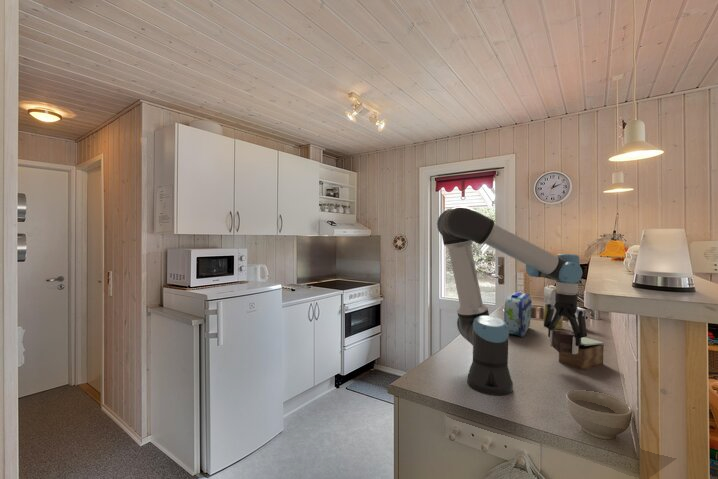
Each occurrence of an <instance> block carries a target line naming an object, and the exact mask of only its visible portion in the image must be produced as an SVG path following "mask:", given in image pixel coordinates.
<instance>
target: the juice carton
mask: <svg viewBox="0 0 718 479" xmlns="http://www.w3.org/2000/svg"><path fill="white" fill-rule="evenodd" d="M556 292H557V291H556V286H554V285H548V286H544V290H543V323H544V322H545V318H546V314H547V310H548V308H547V305H548V304H555V303H556V301H555V294H556ZM556 311H557V310H556V309H554V312H553V316H552V320H553V318H554V316H555V313H556ZM552 320H551V321H552ZM563 324H564V316H562V317H561V318H560V320H559V321H558V323H557V325H556V326H555V329H554V330H562V329H563V328H564V326H563Z"/></svg>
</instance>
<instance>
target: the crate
mask: <svg viewBox="0 0 718 479" xmlns="http://www.w3.org/2000/svg"><path fill="white" fill-rule="evenodd" d="M604 345H605V344H598V345H588V346H584V345H580V346H578V354H572V353H563V352H558V362H559V363H562V364H564V365H568V366H570V367H574V368H577V369H579V370H582V371H586V370H589V369H592V368H595V367H598V366H601V365H604Z"/></svg>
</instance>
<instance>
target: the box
mask: <svg viewBox="0 0 718 479" xmlns="http://www.w3.org/2000/svg"><path fill="white" fill-rule="evenodd" d="M573 337H575V334H574V332H573V333H572V331H570V330H562V329H554V330H553V347H552V348H553V349H554V350H556V351H557V352H558V353H559V352H563V353H572V344H573Z"/></svg>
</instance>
